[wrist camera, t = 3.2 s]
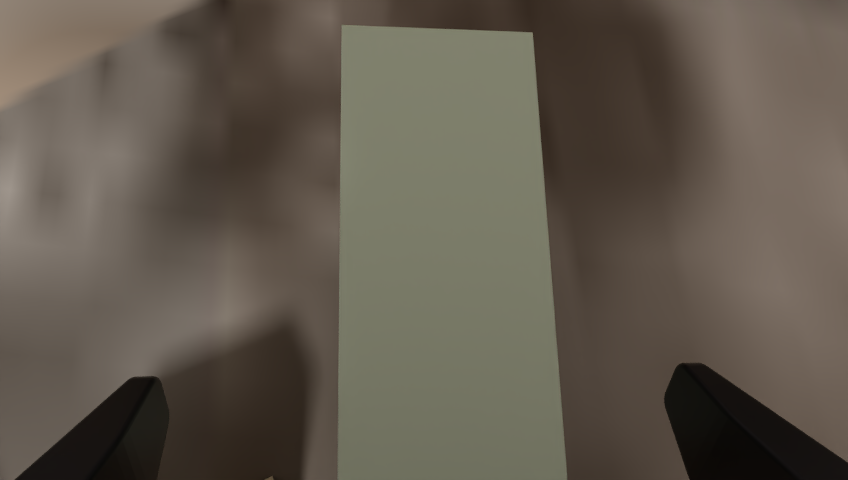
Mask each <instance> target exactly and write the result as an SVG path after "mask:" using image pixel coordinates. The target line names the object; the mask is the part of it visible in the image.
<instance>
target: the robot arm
mask: <svg viewBox="0 0 848 480" xmlns="http://www.w3.org/2000/svg"><path fill="white" fill-rule="evenodd" d="M664 403H665V408H666V411H667V414H668V417H669V420H670V423H671V426H672V429H673V432H674V435H675V438H676V441H677V444H678V447H679V450H680V453H681V456H682V459H683V462H684V465H685V468H686V471H687V474H688V477H689V479H690V480H848V462H846V461H845V460H843V459H842V458H840V457H839V456H837V455H836V454H835V453H833V452H832V451H830V450H829V449H827V448H826V447H824V446H823V445H821V444H820V443H818V442H817V441H816V440H814V439H813V438H811V437H810V436H808V435H807V434H805V433H804V432H802V431H801V430H800V429H798V428H797V427H795V426H794V425H792V424H791V423H789V422H788V421H786V420H785V419H783V418H782V417H781V416H779V415H778V414H776V413H775V412H773V411H772V410H770V409H769V408H767V407H766V406H764V405H763V404H762V403H760V402H759V401H757V400H756V399H754V398H753V397H751V396H750V395H748V394H747V393H746V392H744V391H743V390H741V389H740V388H738V387H737V386H735V385H734V384H732V383H731V382H729V381H728V380H727V379H725V378H724V377H722V376H721V375H719V374H718V373H716V372H715V371H713V370H712V369H711V368H709V367H708V366H706V365H704V364H702V363H681V364H679V365H678V366H677V367H676V368H675V371H674V373H673V375H672V378H671V380H670V383H669V385H668V387H667V390H666V392H665V397H664ZM168 424H169V409H168V405H167V402H166V398H165V394H164V391H163V387H162V383H161V381H160V379H159V378H158V377H155V376H146V377H132V378H130V379H129V380H127V381H126V382H125V383H124V384H123V385H122V386H120V387H119V388H118V389H117V390H116V391H115V392H114V393H112V394H111V395H110V396H109V397H108V398H107V399H106V400H105V401H103V402H102V403H101V404H100V405H99V406H98V407H97V408H95V409H94V410H93V411H92V412H91V413H90V414H89V415H88V416H86V417H85V418H84V419H83V420H82V421H81V422H80V423H78V424H77V425H76V426H75V427H74V428H73V429H72V430H70V431H69V432H68V433H67V434H66V435H65V436H64V437H63V438H61V439H60V440H59V441H58V442H57V443H56V444H55V445H53V446H52V447H51V448H50V449H49V450H48V451H47V452H46V453H44V454H43V455H42V456H41V457H40V458H39V459H38V460H36V461H35V462H34V463H33V464H32V465H31V466H30V467H28V468H27V469H26V470H25V471H24V472H23V473H22V474H21V475H19V476H18V477H17V478H16V479H15V480H157V475H158V470H159V466H160V461H161V456H162V452H163V447H164V443H165V438H166V433H167V429H168Z"/></svg>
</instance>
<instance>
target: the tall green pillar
mask: <svg viewBox="0 0 848 480" xmlns="http://www.w3.org/2000/svg"><path fill="white" fill-rule="evenodd" d="M338 480H567V469H566V456H565V443H564V430H563V417H562V404H561V391H560V378H559V366H558V353H557V340H556V327H555V314H554V301H553V288H552V275H551V263H550V250H549V237H548V224H547V211H546V198H545V185H544V172H543V159H542V147H541V134H540V121H539V108H538V95H537V82H536V69H535V56H534V44H533V32H509V31H484V30H459V29H433V28H408V27H383V26H358V25H342V44H341V156H340V268H339V380H338Z"/></svg>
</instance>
